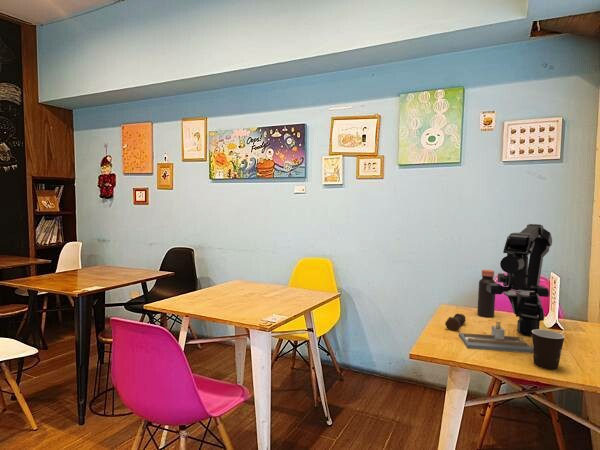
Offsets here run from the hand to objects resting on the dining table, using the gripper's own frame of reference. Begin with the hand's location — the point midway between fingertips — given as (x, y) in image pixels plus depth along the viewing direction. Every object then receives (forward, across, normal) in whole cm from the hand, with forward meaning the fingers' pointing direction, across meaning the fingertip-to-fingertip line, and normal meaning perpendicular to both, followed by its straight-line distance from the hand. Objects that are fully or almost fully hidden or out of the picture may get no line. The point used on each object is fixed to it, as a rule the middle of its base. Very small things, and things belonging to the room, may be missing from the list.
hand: (515, 314), depth 142 cm
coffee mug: (+11, -4, +16) cm, 20 cm away
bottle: (+11, -2, -38) cm, 40 cm away
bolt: (+12, +15, -19) cm, 27 cm away
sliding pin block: (+10, +6, 0) cm, 11 cm away
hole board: (+11, +7, 0) cm, 13 cm away
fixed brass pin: (+10, -2, 0) cm, 10 cm away
